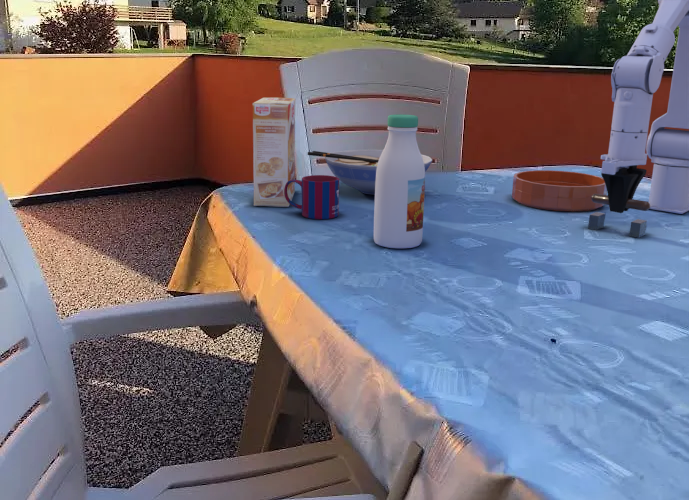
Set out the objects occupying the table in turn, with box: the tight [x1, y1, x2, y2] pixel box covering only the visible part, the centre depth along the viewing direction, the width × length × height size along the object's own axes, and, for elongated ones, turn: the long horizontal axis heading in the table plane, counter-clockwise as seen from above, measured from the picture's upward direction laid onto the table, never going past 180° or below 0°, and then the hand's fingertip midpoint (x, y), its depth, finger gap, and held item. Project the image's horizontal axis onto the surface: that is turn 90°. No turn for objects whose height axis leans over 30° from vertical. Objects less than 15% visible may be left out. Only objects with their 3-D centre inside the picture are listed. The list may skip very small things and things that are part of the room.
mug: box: [284, 174, 340, 220], centre depth 129 cm, size 7×10×7 cm
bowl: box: [511, 169, 608, 212], centre depth 144 cm, size 18×18×5 cm
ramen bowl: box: [307, 149, 433, 196], centre depth 150 cm, size 25×23×8 cm
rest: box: [587, 211, 648, 239], centre depth 122 cm, size 9×3×2 cm, turn 48°
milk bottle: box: [373, 114, 426, 249], centre depth 110 cm, size 8×8×20 cm
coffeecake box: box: [252, 97, 296, 208], centre depth 139 cm, size 15×7×20 cm, turn 179°
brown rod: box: [591, 194, 650, 212], centre depth 121 cm, size 10×2×2 cm, turn 48°
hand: (618, 211), depth 121 cm, fingers closed on brown rod, 1 cm apart
